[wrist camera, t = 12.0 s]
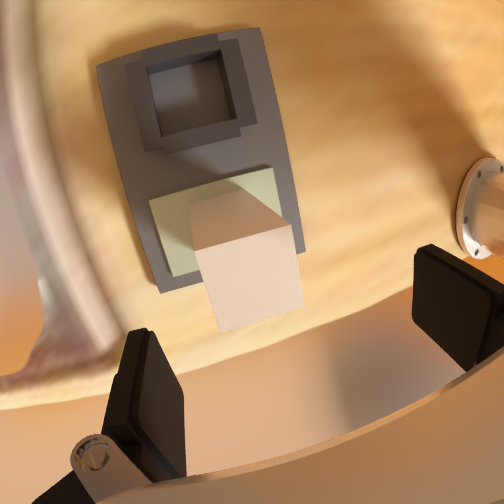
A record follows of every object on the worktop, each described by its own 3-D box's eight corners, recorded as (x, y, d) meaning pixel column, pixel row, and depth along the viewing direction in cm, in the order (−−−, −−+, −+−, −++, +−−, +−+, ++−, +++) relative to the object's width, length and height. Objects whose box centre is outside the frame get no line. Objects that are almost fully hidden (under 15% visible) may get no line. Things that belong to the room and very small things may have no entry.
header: (256, 31, 19) (268, 15, 16) (301, 247, 26) (318, 262, 23) (99, 68, 18) (85, 57, 14) (160, 288, 24) (158, 309, 21)
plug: (244, 188, 22) (291, 224, 12) (255, 240, 23) (304, 306, 14) (188, 203, 21) (194, 251, 12) (203, 255, 23) (220, 332, 14)
